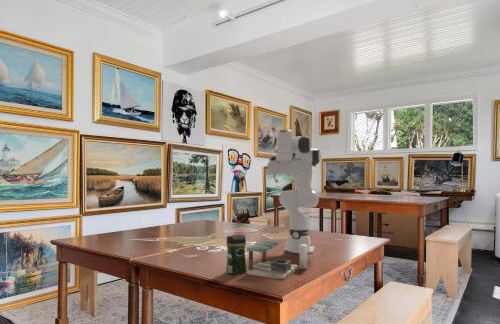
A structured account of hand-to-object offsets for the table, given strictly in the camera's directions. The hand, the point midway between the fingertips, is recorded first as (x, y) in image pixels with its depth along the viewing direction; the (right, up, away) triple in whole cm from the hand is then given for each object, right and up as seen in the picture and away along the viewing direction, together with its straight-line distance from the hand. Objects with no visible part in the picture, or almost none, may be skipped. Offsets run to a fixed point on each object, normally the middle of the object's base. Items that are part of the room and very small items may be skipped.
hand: (284, 182), depth 191 cm
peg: (+9, -44, -12) cm, 47 cm away
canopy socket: (-8, -44, -18) cm, 48 cm away
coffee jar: (-26, -44, -21) cm, 55 cm away
